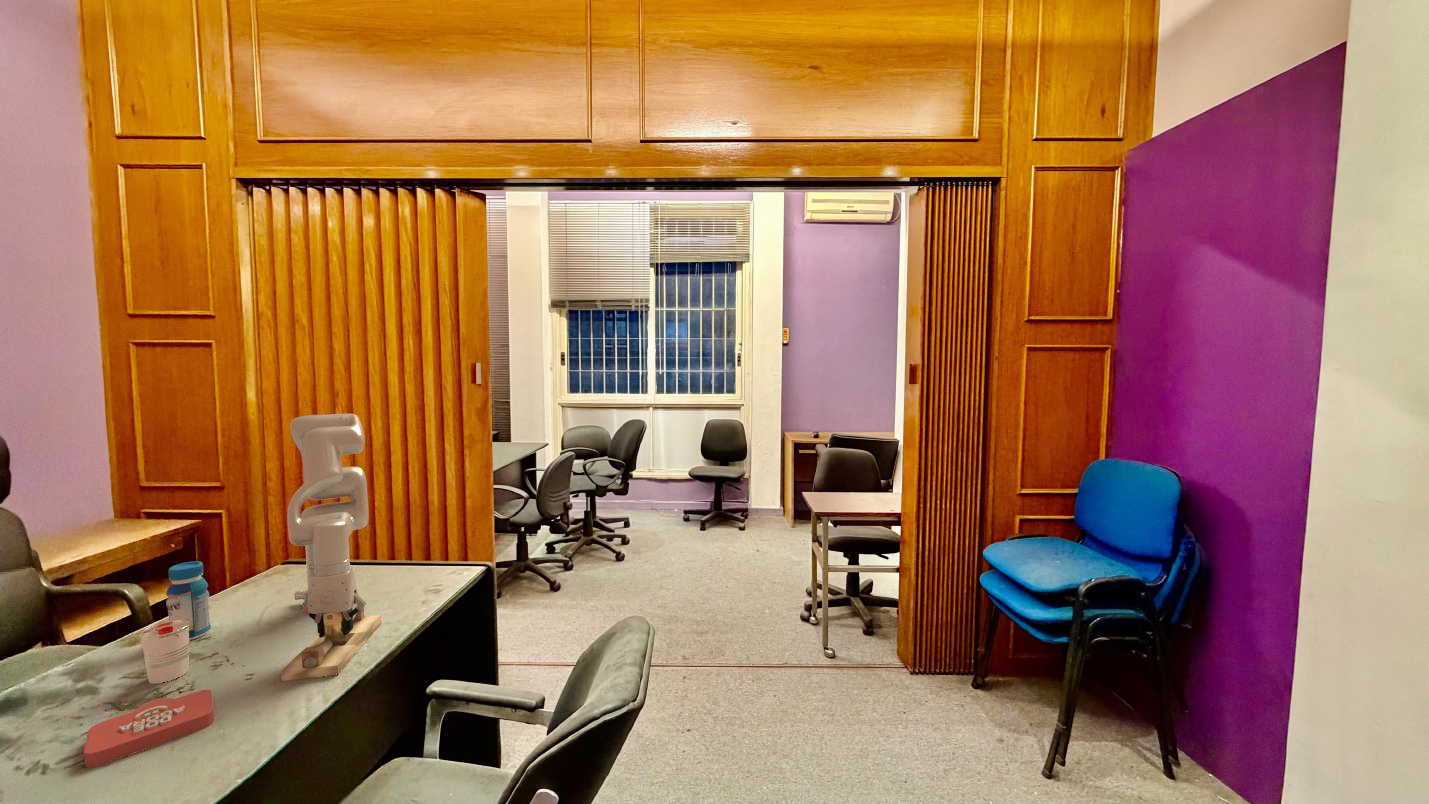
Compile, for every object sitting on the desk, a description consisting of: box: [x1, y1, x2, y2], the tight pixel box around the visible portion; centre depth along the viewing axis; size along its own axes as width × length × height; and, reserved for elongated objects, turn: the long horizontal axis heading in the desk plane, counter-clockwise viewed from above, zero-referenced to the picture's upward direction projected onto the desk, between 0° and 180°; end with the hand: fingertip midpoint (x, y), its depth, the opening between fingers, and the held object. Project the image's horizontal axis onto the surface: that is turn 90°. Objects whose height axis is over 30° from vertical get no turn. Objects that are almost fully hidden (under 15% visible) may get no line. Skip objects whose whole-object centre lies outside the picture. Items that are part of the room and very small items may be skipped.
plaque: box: [83, 689, 215, 768], centre depth 110 cm, size 18×4×15 cm
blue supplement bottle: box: [165, 560, 212, 641], centre depth 146 cm, size 8×8×20 cm
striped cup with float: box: [139, 620, 190, 685], centre depth 128 cm, size 10×8×12 cm
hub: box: [323, 612, 347, 642], centre depth 139 cm, size 5×6×8 cm
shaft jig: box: [280, 604, 382, 682], centre depth 140 cm, size 12×26×8 cm, turn 12°
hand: (335, 633), depth 140 cm, fingers closed on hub, 5 cm apart
